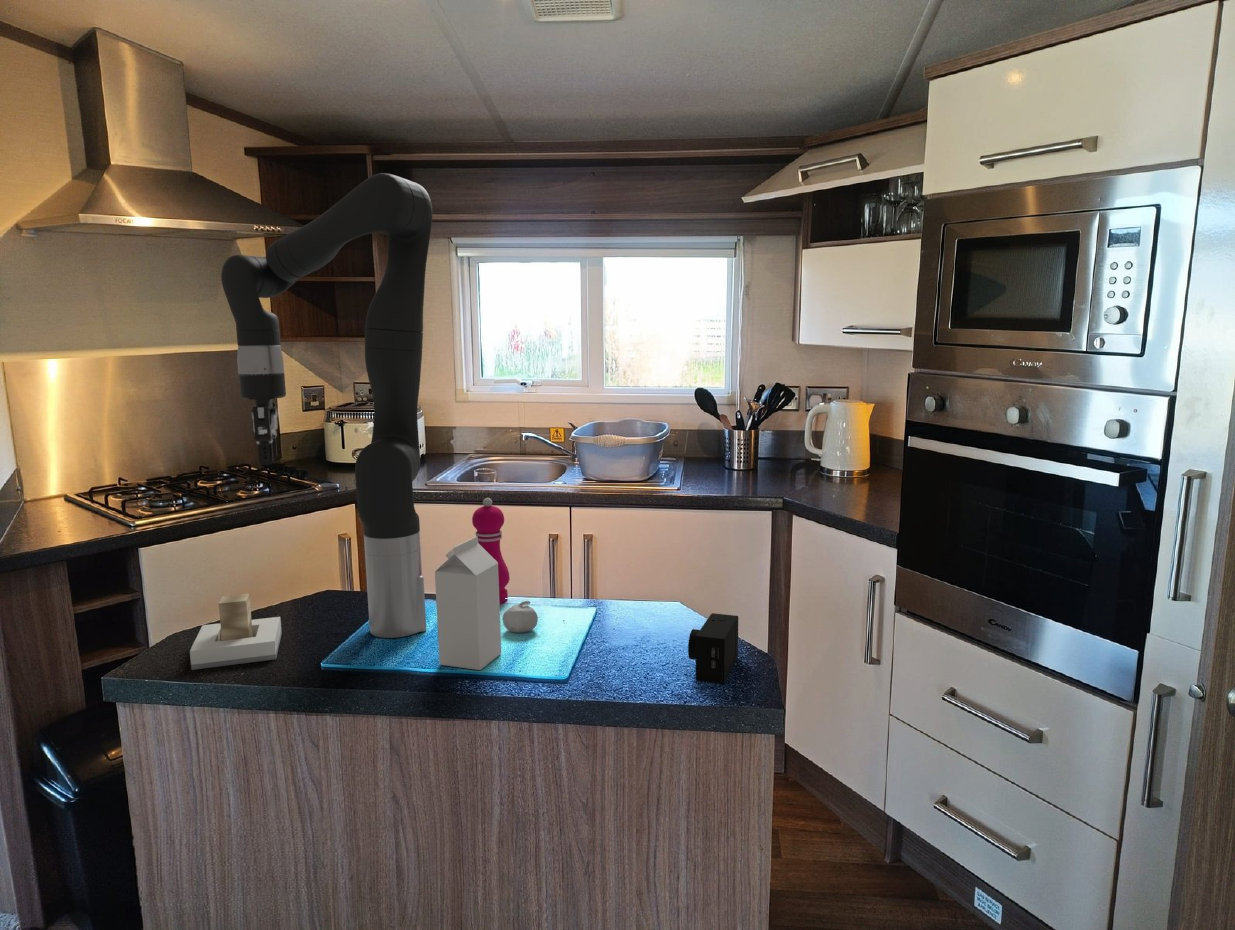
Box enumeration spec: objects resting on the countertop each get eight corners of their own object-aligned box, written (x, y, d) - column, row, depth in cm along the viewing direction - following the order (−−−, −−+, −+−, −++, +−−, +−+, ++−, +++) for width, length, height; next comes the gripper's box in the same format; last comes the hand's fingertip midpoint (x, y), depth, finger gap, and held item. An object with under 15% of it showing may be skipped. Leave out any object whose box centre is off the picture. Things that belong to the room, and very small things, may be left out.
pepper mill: (502, 607, 151) (499, 502, 148) (466, 605, 152) (461, 501, 149) (515, 595, 158) (512, 494, 155) (480, 593, 159) (476, 493, 156)
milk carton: (501, 654, 128) (497, 537, 125) (480, 671, 122) (475, 549, 119) (462, 649, 131) (457, 534, 128) (439, 665, 124) (432, 545, 121)
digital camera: (703, 653, 128) (704, 611, 127) (738, 657, 126) (738, 614, 125) (687, 680, 118) (687, 634, 117) (724, 684, 116) (724, 638, 115)
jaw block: (253, 639, 134) (249, 593, 132) (250, 648, 130) (246, 600, 129) (226, 642, 132) (222, 596, 131) (223, 651, 129) (218, 603, 127)
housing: (281, 633, 139) (280, 616, 138) (276, 659, 128) (274, 640, 127) (204, 642, 135) (202, 625, 135) (191, 669, 124) (189, 651, 123)
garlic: (539, 624, 141) (538, 596, 141) (537, 636, 136) (536, 606, 135) (505, 625, 141) (504, 596, 141) (501, 636, 136) (500, 607, 135)
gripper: (281, 372, 138) (288, 466, 141) (286, 369, 152) (293, 455, 154) (233, 373, 136) (241, 468, 138) (243, 370, 149) (250, 457, 152)
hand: (268, 461), depth 146 cm, fingers open, 8 cm apart
